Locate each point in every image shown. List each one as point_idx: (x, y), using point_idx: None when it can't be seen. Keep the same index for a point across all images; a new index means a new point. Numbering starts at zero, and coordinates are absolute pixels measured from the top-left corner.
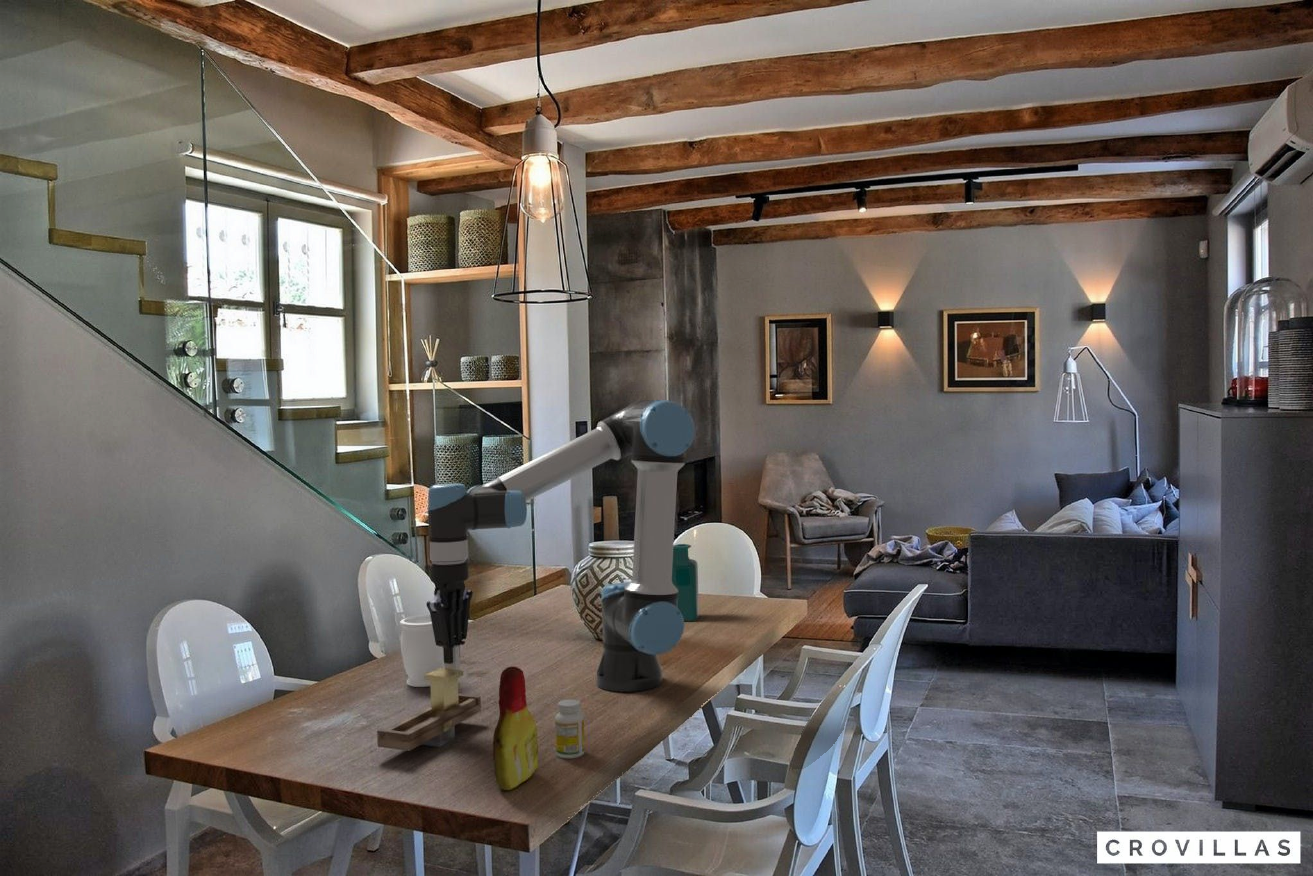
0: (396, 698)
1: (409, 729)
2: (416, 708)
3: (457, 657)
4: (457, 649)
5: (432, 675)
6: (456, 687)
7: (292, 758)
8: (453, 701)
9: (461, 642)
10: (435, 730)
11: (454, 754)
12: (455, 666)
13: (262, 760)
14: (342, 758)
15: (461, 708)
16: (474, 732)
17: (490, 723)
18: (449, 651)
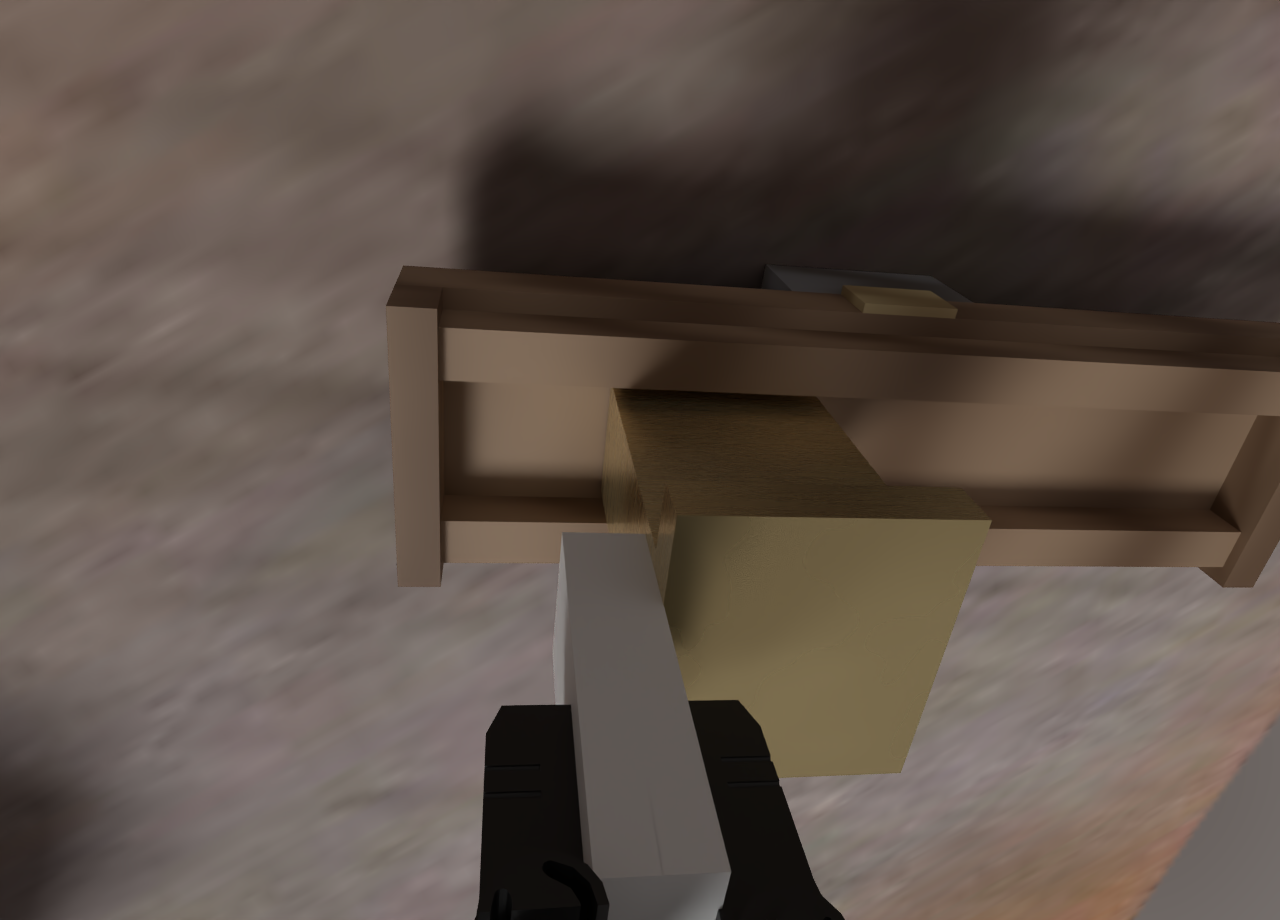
0: (206, 915)
1: (1065, 478)
2: (311, 756)
3: (642, 717)
4: (655, 824)
5: (926, 699)
6: (666, 477)
7: (1074, 800)
8: (701, 422)
9: (608, 909)
10: (1041, 319)
11: (1065, 102)
12: (670, 637)
13: (1088, 865)
14: (1088, 646)
15: (678, 334)
16: (622, 187)
17: (395, 161)
18: (797, 855)
